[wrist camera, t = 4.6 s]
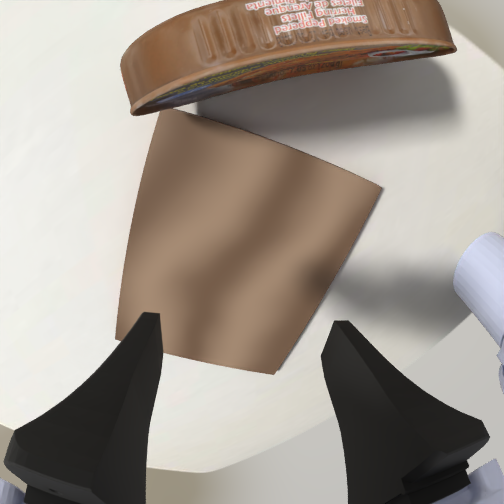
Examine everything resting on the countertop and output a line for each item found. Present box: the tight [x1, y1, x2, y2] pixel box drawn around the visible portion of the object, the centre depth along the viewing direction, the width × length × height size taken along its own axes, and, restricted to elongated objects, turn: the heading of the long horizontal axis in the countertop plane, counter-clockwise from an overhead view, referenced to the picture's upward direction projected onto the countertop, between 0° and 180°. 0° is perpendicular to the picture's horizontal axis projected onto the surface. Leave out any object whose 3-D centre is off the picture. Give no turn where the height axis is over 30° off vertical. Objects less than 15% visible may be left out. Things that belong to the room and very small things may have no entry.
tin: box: [120, 0, 457, 116], centre depth 11 cm, size 15×3×8 cm, turn 105°
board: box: [115, 108, 381, 375], centre depth 21 cm, size 14×18×1 cm
